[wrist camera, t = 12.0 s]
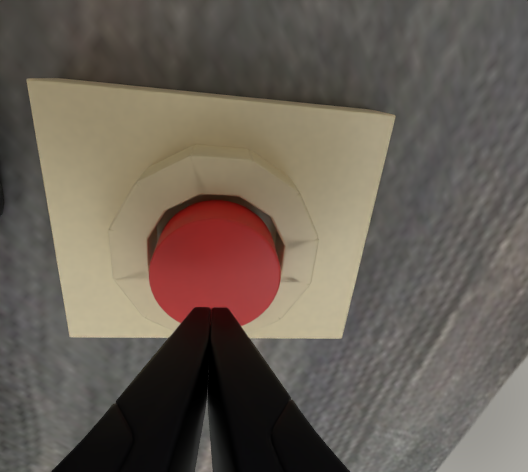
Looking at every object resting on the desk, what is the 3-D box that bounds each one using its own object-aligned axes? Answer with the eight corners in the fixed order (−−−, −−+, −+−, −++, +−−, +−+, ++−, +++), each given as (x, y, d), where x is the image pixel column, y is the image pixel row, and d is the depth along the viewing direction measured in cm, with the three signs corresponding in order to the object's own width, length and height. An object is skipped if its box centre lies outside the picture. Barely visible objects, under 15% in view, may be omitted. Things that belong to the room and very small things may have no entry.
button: (280, 202, 12) (289, 222, 10) (267, 302, 13) (273, 332, 12) (156, 195, 11) (145, 215, 9) (159, 300, 13) (150, 332, 11)
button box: (372, 109, 14) (423, 121, 10) (329, 310, 18) (355, 368, 15) (56, 78, 12) (-12, 78, 9) (87, 306, 17) (49, 370, 13)
